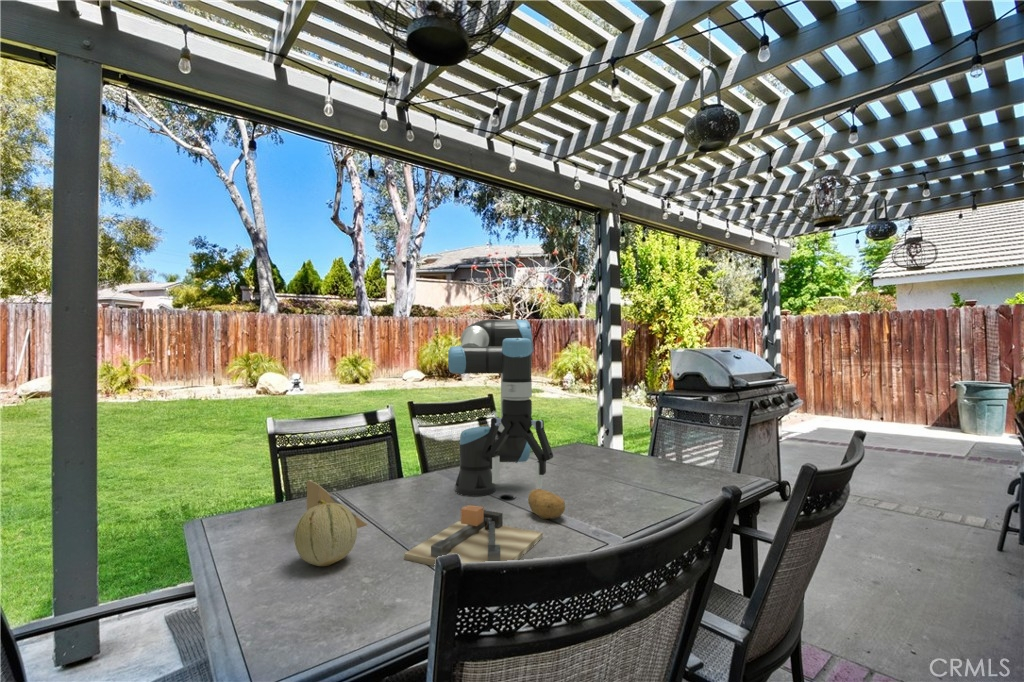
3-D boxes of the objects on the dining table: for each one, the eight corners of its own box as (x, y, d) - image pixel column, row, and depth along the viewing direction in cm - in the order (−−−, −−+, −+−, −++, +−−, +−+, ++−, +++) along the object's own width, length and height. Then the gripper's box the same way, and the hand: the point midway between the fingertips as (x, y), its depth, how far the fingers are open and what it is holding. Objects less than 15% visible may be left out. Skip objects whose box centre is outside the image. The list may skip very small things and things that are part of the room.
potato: (549, 527, 145) (549, 500, 145) (521, 514, 157) (521, 489, 157) (573, 520, 151) (573, 494, 151) (544, 508, 162) (544, 484, 162)
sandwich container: (369, 525, 147) (369, 475, 148) (318, 539, 137) (318, 485, 137) (356, 518, 154) (356, 470, 154) (306, 530, 143) (306, 479, 143)
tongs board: (462, 523, 148) (462, 506, 148) (542, 537, 137) (542, 519, 137) (404, 559, 123) (404, 538, 123) (496, 580, 112) (496, 557, 112)
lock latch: (468, 518, 141) (468, 504, 141) (483, 521, 138) (483, 507, 139) (460, 523, 137) (460, 508, 137) (476, 526, 135) (476, 511, 135)
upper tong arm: (485, 527, 141) (485, 516, 141) (498, 527, 141) (498, 516, 141) (483, 562, 118) (483, 550, 118) (500, 562, 118) (500, 549, 118)
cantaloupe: (329, 581, 112) (330, 514, 112) (279, 571, 117) (280, 507, 117) (369, 555, 125) (370, 496, 126) (323, 547, 131) (324, 490, 131)
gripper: (469, 397, 127) (468, 482, 126) (555, 402, 116) (555, 494, 116) (483, 395, 133) (483, 476, 133) (566, 399, 123) (566, 486, 123)
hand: (517, 484), depth 124 cm, fingers open, 11 cm apart
